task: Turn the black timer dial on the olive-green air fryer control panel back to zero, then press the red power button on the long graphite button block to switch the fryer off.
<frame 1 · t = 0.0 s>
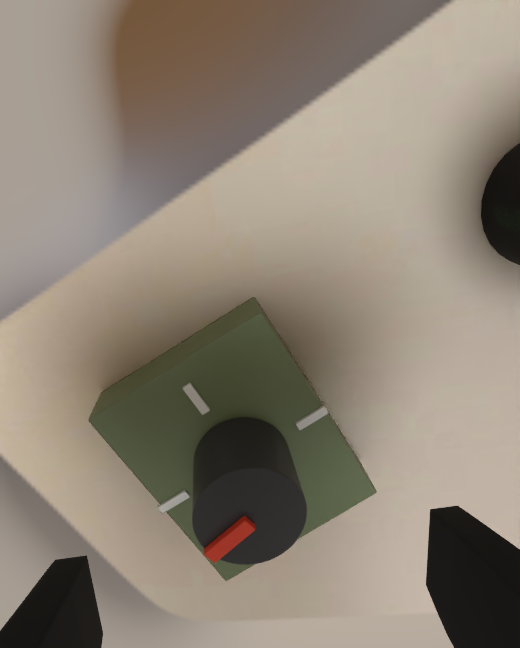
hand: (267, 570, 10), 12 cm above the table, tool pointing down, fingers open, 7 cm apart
timer dial: (246, 488, 18), point 4 cm above the table, hinge at 100.0°
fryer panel: (237, 429, 22), on the table
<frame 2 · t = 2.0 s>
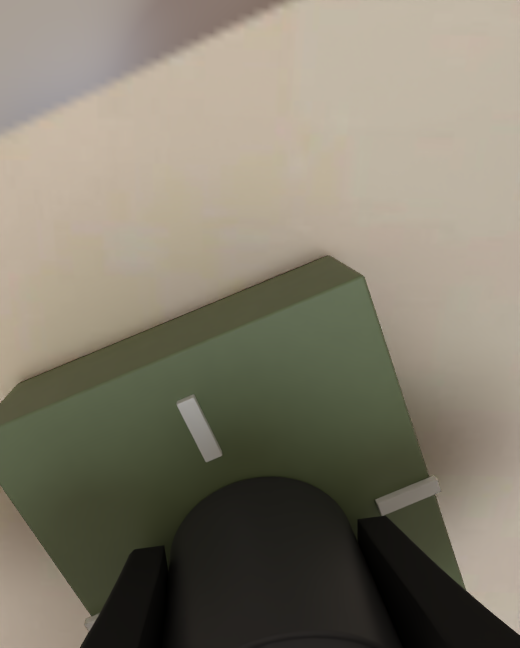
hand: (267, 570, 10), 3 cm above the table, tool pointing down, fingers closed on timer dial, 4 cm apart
timer dial: (276, 636, 8), point 5 cm above the table, hinge at 100.0°, touching gripper
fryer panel: (251, 482, 13), on the table
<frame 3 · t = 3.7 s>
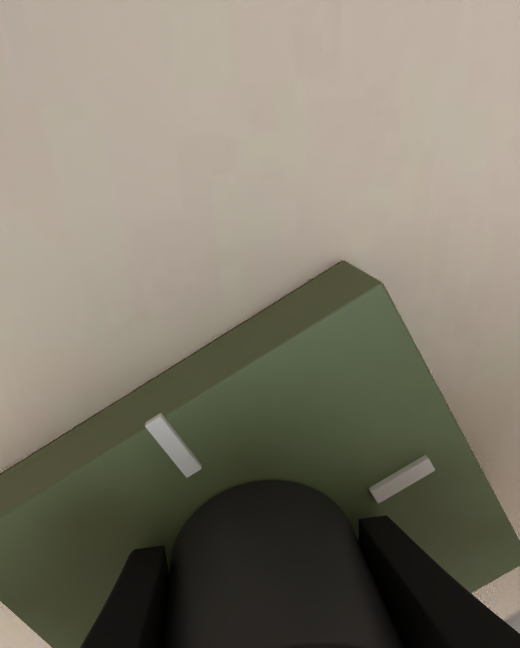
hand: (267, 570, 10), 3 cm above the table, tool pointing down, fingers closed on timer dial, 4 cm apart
timer dial: (278, 642, 8), point 4 cm above the table, hinge at -0.6°, touching gripper
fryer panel: (252, 485, 13), on the table
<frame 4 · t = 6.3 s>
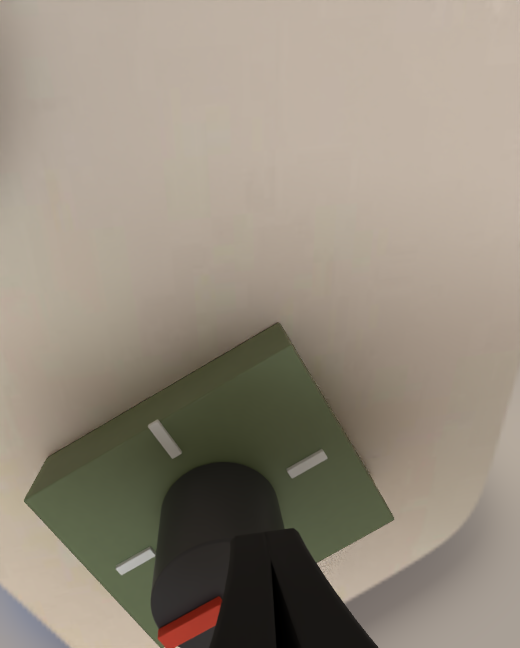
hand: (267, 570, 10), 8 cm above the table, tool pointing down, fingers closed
timer dial: (223, 555, 14), point 5 cm above the table, hinge at -0.6°
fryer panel: (217, 468, 19), on the table
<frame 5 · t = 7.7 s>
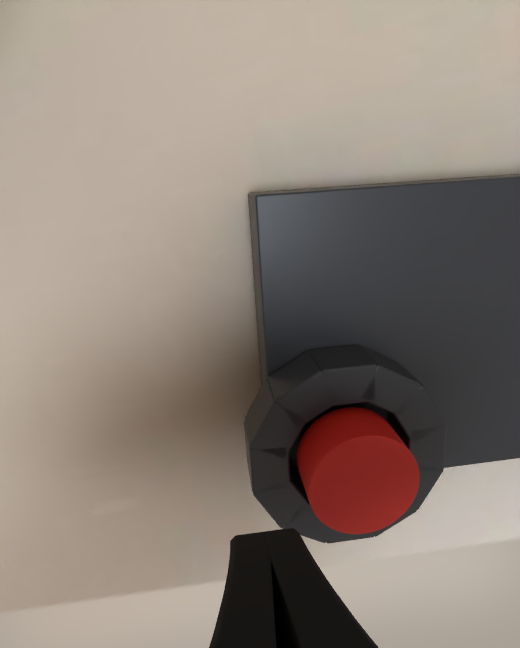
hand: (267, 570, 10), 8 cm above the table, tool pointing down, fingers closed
power button: (355, 468, 14), point 4 cm above the table, slide at 0.1 cm
power block: (492, 312, 18), on the table
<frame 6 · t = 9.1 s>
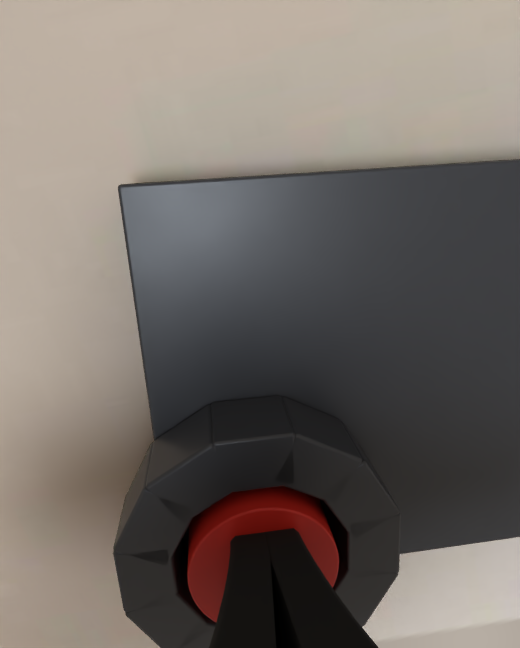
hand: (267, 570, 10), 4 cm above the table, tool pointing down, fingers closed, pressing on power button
power button: (259, 543, 11), point 3 cm above the table, slide at -1.0 cm, touching gripper
power block: (473, 343, 14), on the table
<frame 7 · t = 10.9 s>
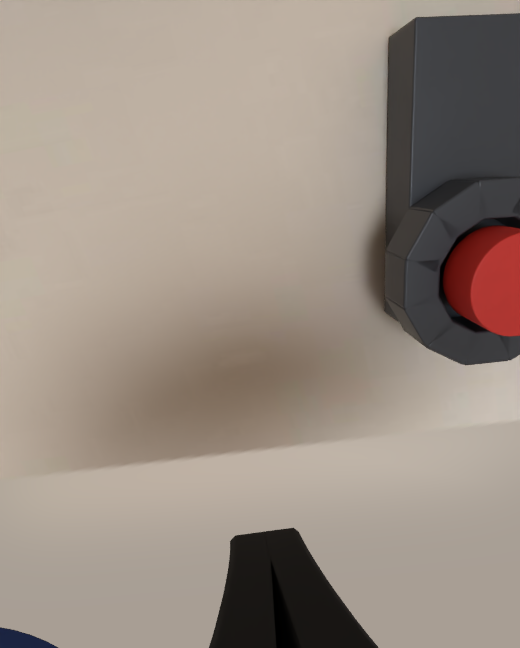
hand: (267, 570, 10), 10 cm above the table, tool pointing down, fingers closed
power button: (504, 279, 15), point 4 cm above the table, slide at 0.1 cm
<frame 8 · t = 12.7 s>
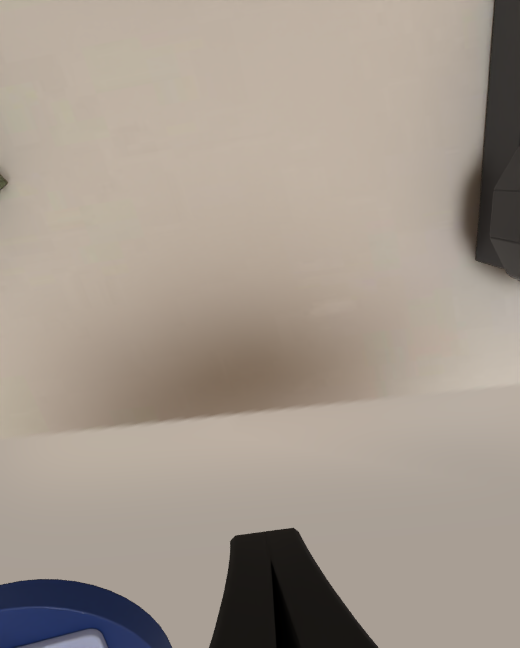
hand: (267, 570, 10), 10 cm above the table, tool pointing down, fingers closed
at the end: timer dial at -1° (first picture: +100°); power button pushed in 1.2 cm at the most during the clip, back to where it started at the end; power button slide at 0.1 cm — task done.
